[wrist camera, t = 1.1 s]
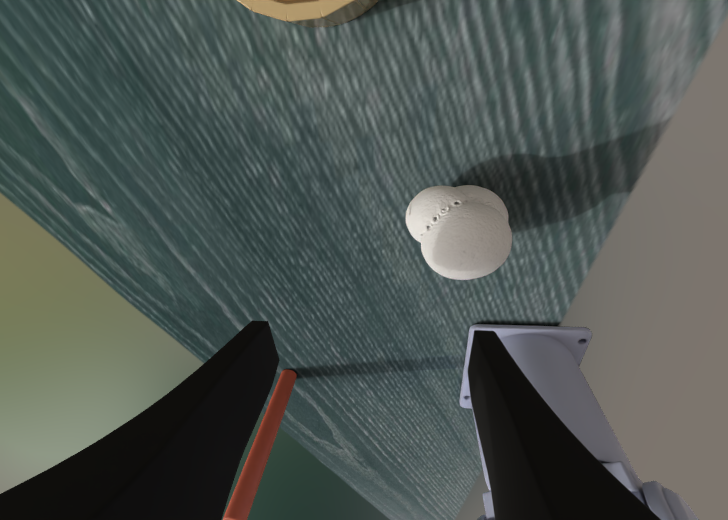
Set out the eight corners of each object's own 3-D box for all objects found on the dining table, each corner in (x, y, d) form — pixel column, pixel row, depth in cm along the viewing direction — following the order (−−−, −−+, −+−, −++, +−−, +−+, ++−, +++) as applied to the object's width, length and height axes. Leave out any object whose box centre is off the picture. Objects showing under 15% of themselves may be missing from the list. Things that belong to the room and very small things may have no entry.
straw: (298, 379, 29) (247, 529, 20) (283, 378, 29) (226, 526, 20) (295, 369, 29) (241, 519, 19) (280, 368, 29) (219, 517, 20)
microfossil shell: (473, 252, 20) (492, 312, 16) (392, 228, 20) (387, 281, 15) (510, 187, 18) (545, 234, 13) (418, 158, 17) (420, 196, 13)
